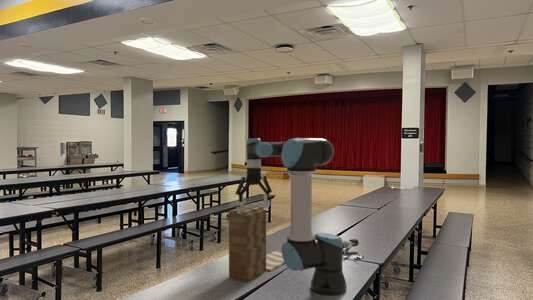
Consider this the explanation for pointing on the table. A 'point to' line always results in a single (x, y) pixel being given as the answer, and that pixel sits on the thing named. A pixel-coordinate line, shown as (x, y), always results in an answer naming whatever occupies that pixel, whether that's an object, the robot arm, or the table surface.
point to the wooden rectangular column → (247, 244)
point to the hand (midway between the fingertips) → (254, 207)
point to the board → (274, 260)
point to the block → (253, 206)
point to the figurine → (349, 244)
